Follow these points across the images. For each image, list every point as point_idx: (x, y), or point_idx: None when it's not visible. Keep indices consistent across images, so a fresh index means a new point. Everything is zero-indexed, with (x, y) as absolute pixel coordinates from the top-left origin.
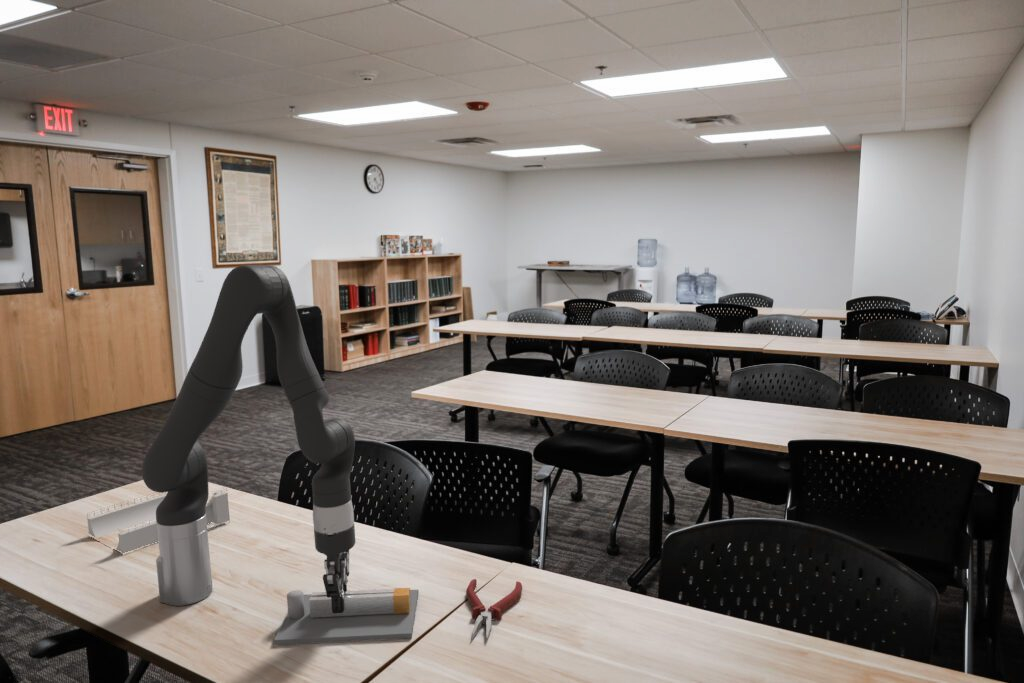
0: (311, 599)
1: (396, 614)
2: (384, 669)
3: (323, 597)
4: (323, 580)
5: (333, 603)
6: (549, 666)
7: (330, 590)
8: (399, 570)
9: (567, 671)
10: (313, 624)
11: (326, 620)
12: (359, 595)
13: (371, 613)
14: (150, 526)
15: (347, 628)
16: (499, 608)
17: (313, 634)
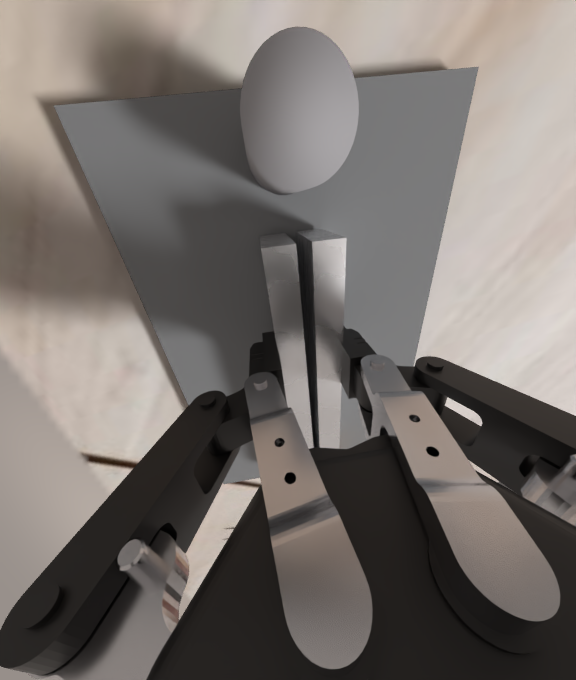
0: (269, 260)
1: None
2: (108, 465)
3: (291, 314)
4: (25, 593)
5: (250, 366)
6: (193, 580)
7: (221, 422)
8: (512, 386)
9: (188, 588)
10: (224, 262)
11: (255, 300)
12: (305, 428)
13: None
14: None
15: (218, 374)
16: None
17: (161, 287)
